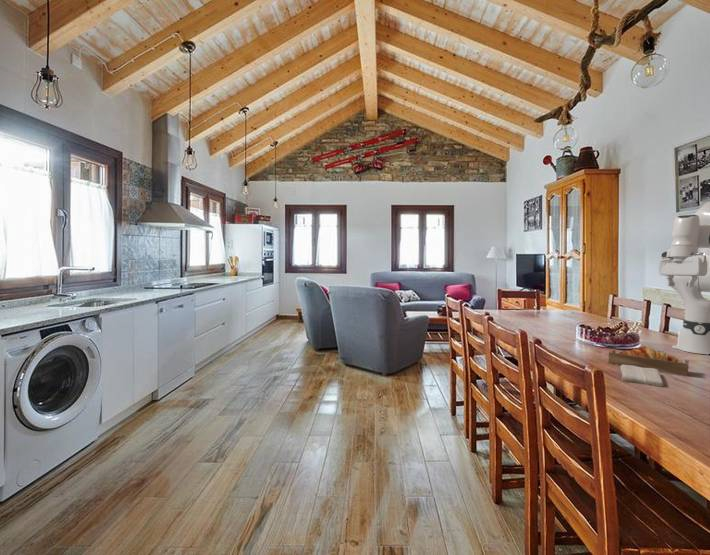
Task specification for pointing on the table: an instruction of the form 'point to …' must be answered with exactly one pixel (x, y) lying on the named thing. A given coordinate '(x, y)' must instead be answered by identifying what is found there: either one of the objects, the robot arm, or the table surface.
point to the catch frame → (649, 363)
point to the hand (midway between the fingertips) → (680, 286)
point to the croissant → (651, 354)
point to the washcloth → (641, 375)
